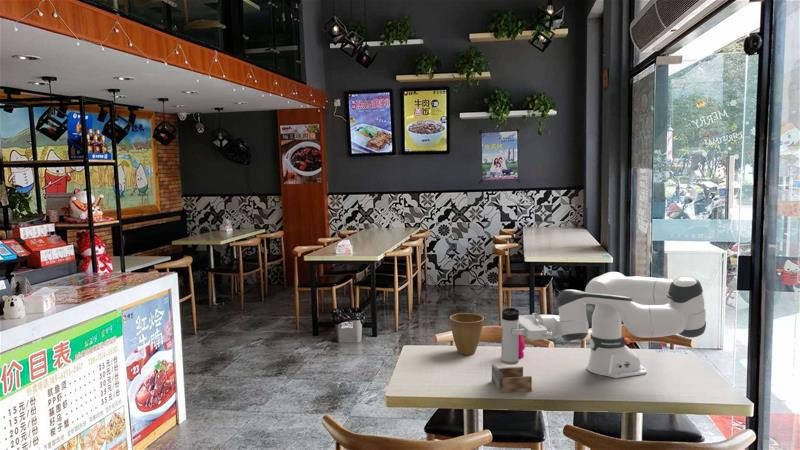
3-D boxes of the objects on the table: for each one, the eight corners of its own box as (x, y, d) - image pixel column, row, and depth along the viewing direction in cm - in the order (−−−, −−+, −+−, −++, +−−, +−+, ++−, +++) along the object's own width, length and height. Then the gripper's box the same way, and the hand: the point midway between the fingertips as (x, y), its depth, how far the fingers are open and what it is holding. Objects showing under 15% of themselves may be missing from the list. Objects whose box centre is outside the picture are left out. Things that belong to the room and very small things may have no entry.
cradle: (521, 379, 234) (522, 362, 233) (531, 391, 222) (531, 373, 221) (491, 381, 232) (491, 364, 232) (499, 392, 220) (499, 375, 220)
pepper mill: (525, 359, 257) (525, 313, 254) (507, 358, 258) (507, 312, 256) (524, 353, 264) (525, 309, 261) (508, 353, 265) (508, 308, 263)
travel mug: (520, 360, 228) (521, 308, 226) (515, 365, 222) (516, 312, 220) (504, 358, 231) (504, 306, 229) (499, 363, 225) (500, 311, 223)
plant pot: (447, 357, 261) (447, 321, 259) (452, 346, 276) (452, 312, 274) (482, 359, 258) (482, 322, 256) (485, 348, 272) (485, 313, 271)
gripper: (554, 343, 217) (517, 345, 215) (534, 327, 237) (500, 329, 235) (554, 326, 216) (517, 328, 214) (534, 311, 236) (500, 313, 234)
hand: (508, 328), depth 225 cm, fingers closed on travel mug, 6 cm apart
